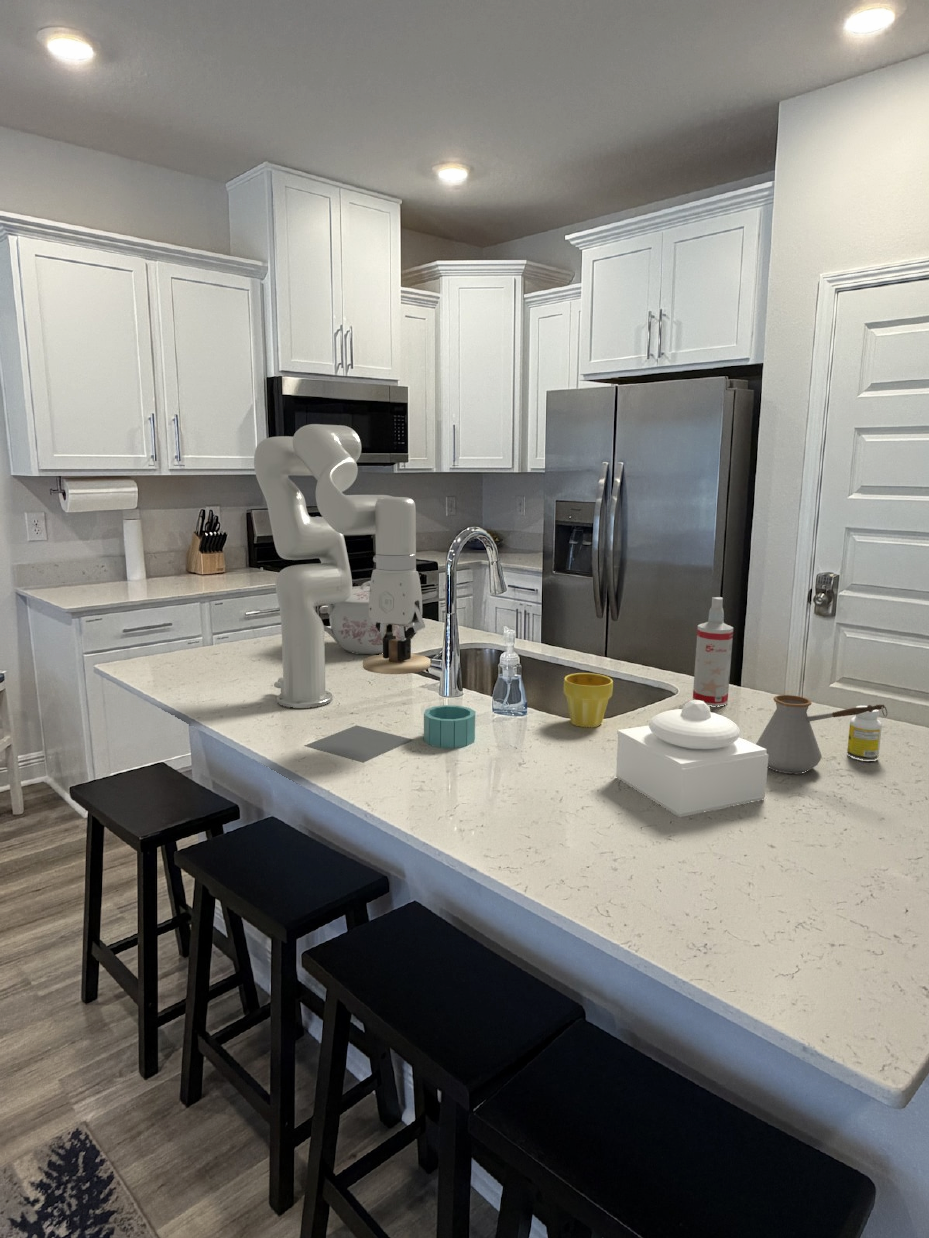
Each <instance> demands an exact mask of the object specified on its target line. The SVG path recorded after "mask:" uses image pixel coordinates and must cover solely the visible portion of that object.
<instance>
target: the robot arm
mask: <svg viewBox="0 0 929 1238" xmlns="http://www.w3.org/2000/svg"><path fill="white" fill-rule="evenodd" d="M361 454H362V441H361V439H360V436H359V435H358V433H357V432H356V431H355V430H354V429H353V428H351V426H350V427H349V426H347V425H343V424H342V425H341V424H339V425H337V424H320V423H311V424H306V425H303V426H300V427H299V429H297V430H296V431H295V433H294V435H293V436H289V435H288V436H287V435H285V436H284V435H283V436H281V435H280V436H271V437H267V438H264V439H262V440H261V441H260V442H258V444H257V445H256V447H255V450H254V455H253V466H254V473H255V477H256V480H257V482H258V485H259V488H260V489H261V492H262V494H263V496H264V499H265V502H266V506H267V511H268V517H269V523H270V527H271V528H270V529H271V534H272V538H273V543H274V547H275V550H276V553H277V555H278V556H279V558H281V559H284V560H288V561H289V560H290V561H291V560H292V561H299V560H301V561H302V560H313V559H319V561H320V562H319V563H306V564H294V565H290V566H287V567H284V568H283V569H281V570H280V571H279V572H278V573H277V576H276V577H275V583H274V584H275V591H276V596H277V597H276V598H277V602H278V605H279V607H278V608H279V612H280V613H279V614H280V624H281V628H280V629H281V648H282V649H281V651H282V652H281V653H282V677H279V678H278V679H277V681H275V682H274V683H273V684H274V685H273V687H274V688H277V689H280V693H279V694H278V695H277V696H276V702H278V703H279V704H278V703H277V704H278V705H280V706H282V705H283V706H282V707H285V706H287V707H286V708H290V707H293V708H292V709H311V708H310V707H312V708H318V707H321V706H320V705H322V706H325V704H326V705H328V704H330V703H331V702H332V701H333V693H332V692H330V691H328V690H326V661H325V660H326V656H325V654H326V653H325V652H326V651H325V649H326V648H325V646H326V645H325V631H324V626H325V625H324V622H323V620H322V618H321V616H319V614H318V613H317V612H316V611H315V610H314V606H316V607H318V606H324V605H326V604H332V605H333V604H334V603H340V602H344V601H346V600H347V599H348V598H349V597H350V595H351V592H352V587H353V578H352V572H351V566H350V562H349V555H348V552H347V546H346V541H345V536H356V535H357V536H358V535H375V555H374V556H373V558H372V561H373V562H374V563H375V569H373V570H372V573H371V577H370V581H371V582H370V585H369V586H370V591H369V621H370V622H371V623H372V624H373V625H375V626H376V628H377V629H378V631H379V632H380V637H381V638H383V658H385V659H387V658H389V640H391V639H396V636H393V634H394V625H399V634H400V640H399V641H398V642H397V650H398V661H404V660H408V659H410V658H411V654H412V640H413V639H414V638H415V635H416V634H417V633H418V632H420V631H421V630H424V629H425V628H426V624H425V622H424V618H423V593H422V586H421V579H420V574H419V571H417V554H416V553H417V540H416V539H417V535H416V534H417V522H416V520H417V519H416V515H417V513H416V509H417V508H416V507H417V506H416V503H415V501H414V500H413V498H410V497H406V496H405V497H404V496H392V495H388V494H348V495H347V494H345V493H343V492H345V491H347V490H348V489H349V488H351V486H352V485H353V484H354V482H355V481H356V479H357V477H358V471H359V469H358V464H357V461H358V460H359V459H360V456H361ZM289 476H312V477H313V478H315V480H316V481H317V482H316V487H315V502H316V506H317V510H318V512H319V513H320V515H321V516H311V515H309V513H308V509H307V502H306V499H305V496H304V494H303V493H302V491H301V490H300V488H299V487H298V485H296V484H295V482H294V481H292V479H290V478H289ZM387 625H388V626H387ZM406 627H407V630H406ZM329 702H330V703H329ZM327 703H328V704H327ZM317 706H318V707H317Z"/></svg>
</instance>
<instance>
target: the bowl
mask: <svg viewBox="0 0 929 1238" xmlns="http://www.w3.org/2000/svg"><path fill="white" fill-rule="evenodd" d="M475 740H476V711H475V710H474V709H473V708H470V707H467V706H463V705H457V704H456V705H455V704H454V705H452V704H451V705H450V704H446V705H445V704H443V705H437V706H436V705H435V706H432V707H429V708H426V709H425V710H424V712H423V741H424V742H425V743H426V744H427V745H429V746H432V747H436V748H441V749H457V748H465V747H469V746H470V745H472V744H474V743H475V742H476V741H475Z"/></svg>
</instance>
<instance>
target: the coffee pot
mask: <svg viewBox="0 0 929 1238" xmlns="http://www.w3.org/2000/svg"><path fill="white" fill-rule="evenodd" d="M773 701H774V702H775V706H776V709H775V711H774V713H773V714H772V716H771V717H770V719H769V720H768V722H767V724H766V726H765V728H764V730H763V731H762V733H761V735H760V737H758V740H757V742H756V743H755V744H756V745H758V746H760V747H762V748H765V749H767V752H766V754H768V755H769V756H768V767H770V768H771V769H773V770H772V771H774V770H777V771H780V772H779V773H781V772H784V773H783V774H787V773H802V772H805V771H807V770H809V771H810V770H812V769H813V768H815V767H816V766H818V764H819V763H820V762H821V760H822V754H821V750H820V747H819V744H818V742H817V741H818V740H817V739H816V736H815V733H814V730H813V727H812V724H811V722H814V721H820V720H825V719H830V718H840V717H849V716H856V715H857V714H860V713H864V712H867V711H869V712H872V711H873V710H879V711H881V713H882V715H883V716H884V717H888V709H887V707H886V706H885V705H884V704H876V705H871V704H869V705H866V706H867V707H856V706H855V707H851V708H847V709H842V710H837V711H833V712H829V713H822V714H816V715H810V716H809V715H808V713H807V712H808V709H809V707H810V706H811V705H812V701H811V700H810V699H809V698H806V697H802V696H799V695H791V694H779V695H774V697H773ZM884 709H885V712H884ZM771 769H770V770H771ZM777 771H776V772H777Z"/></svg>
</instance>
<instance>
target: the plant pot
mask: <svg viewBox="0 0 929 1238" xmlns="http://www.w3.org/2000/svg"><path fill="white" fill-rule="evenodd" d="M613 689H614V680H613V679H612V678H611V677H609V676H607V675H603V674H598V673H593V672H592V673H591V672H577V673H571V674H568V675H565V677H564V678H563V694H564V696H566V701H567V706H568V712H569V713H568V714H569V717H570V718H569V719H570V723H571V724H572V725H574V726H577V727H579V726H580V728H587V727H589V728H590V727H591V728H597V727H600V726H601V725H602V724H601V723H603V720H604V716H605V712H606V709H607V707H608V702H609V700H610V699H611V697H612V696H613V692H614V691H613ZM600 724H601V725H600ZM599 725H600V726H599Z"/></svg>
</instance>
